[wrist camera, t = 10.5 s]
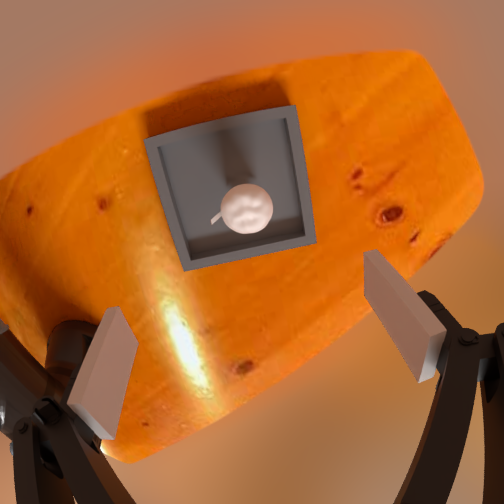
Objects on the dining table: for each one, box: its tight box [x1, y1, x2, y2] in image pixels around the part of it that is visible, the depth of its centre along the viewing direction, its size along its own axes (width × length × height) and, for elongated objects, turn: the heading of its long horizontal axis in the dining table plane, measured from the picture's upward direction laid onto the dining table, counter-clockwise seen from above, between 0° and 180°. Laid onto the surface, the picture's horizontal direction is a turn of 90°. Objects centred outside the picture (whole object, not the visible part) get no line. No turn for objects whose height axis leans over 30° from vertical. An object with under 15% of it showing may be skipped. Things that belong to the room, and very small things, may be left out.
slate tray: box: [144, 105, 317, 272], centre depth 34 cm, size 16×16×2 cm
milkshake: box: [210, 173, 273, 234], centre depth 30 cm, size 5×5×10 cm
